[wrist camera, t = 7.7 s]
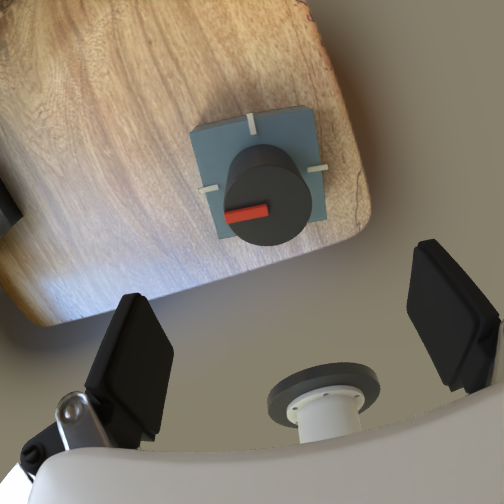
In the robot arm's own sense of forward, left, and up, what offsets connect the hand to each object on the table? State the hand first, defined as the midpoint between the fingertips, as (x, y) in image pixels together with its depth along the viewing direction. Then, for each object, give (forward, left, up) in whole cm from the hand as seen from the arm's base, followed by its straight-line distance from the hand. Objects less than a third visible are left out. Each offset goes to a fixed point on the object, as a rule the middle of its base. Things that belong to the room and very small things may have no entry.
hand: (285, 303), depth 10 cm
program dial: (0, 0, -12) cm, 12 cm away
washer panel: (0, 0, -15) cm, 15 cm away
